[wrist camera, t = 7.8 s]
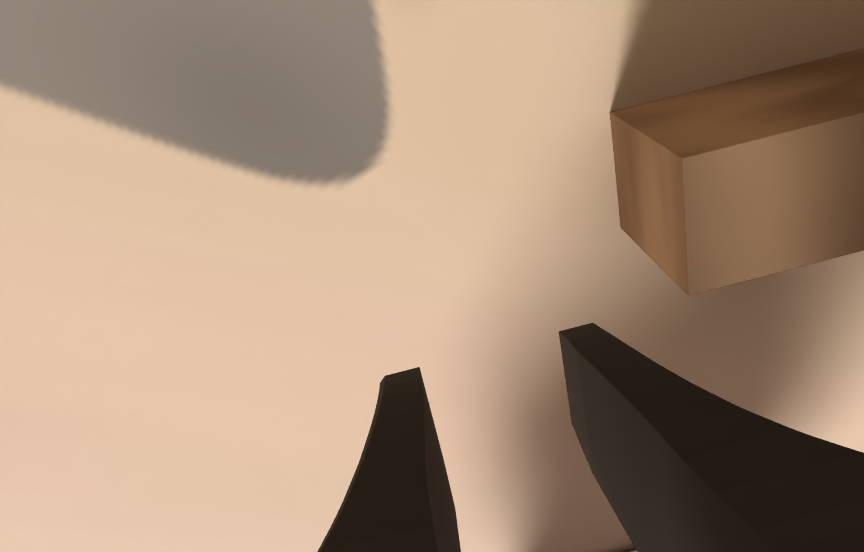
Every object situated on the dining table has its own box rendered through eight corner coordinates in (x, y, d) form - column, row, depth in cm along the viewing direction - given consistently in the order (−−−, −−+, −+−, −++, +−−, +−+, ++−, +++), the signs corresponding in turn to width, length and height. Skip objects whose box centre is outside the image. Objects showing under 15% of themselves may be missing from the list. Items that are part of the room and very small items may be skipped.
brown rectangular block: (952, 24, 20) (1115, 48, 16) (937, 143, 21) (1080, 193, 17) (607, 110, 19) (682, 158, 15) (618, 225, 21) (688, 295, 17)
